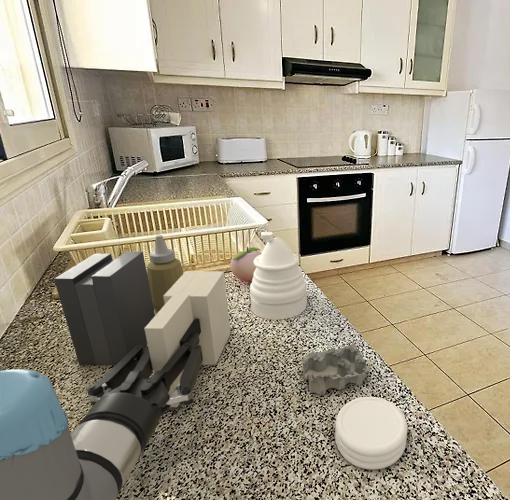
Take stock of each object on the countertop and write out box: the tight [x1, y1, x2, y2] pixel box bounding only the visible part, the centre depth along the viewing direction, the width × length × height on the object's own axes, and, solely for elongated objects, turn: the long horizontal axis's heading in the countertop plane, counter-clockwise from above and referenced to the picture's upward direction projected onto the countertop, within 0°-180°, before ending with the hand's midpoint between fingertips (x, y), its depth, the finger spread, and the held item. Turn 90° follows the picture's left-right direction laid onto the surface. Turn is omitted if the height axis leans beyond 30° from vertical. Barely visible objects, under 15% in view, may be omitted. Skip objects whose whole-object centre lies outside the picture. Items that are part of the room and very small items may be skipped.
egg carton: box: [300, 343, 371, 396], centre depth 64 cm, size 11×8×4 cm
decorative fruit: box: [229, 245, 262, 283], centre depth 97 cm, size 9×8×10 cm
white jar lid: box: [334, 396, 408, 471], centre depth 52 cm, size 10×10×4 cm
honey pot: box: [249, 231, 308, 321], centre depth 84 cm, size 13×13×18 cm
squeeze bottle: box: [146, 234, 185, 314], centre depth 80 cm, size 8×8×18 cm
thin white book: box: [144, 294, 193, 408], centre depth 59 cm, size 2×10×14 cm, turn 2°
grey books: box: [53, 250, 156, 366], centre depth 68 cm, size 9×11×18 cm
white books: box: [163, 270, 232, 366], centre depth 69 cm, size 7×10×14 cm
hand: (188, 325), depth 63 cm, fingers closed on thin white book, 2 cm apart
